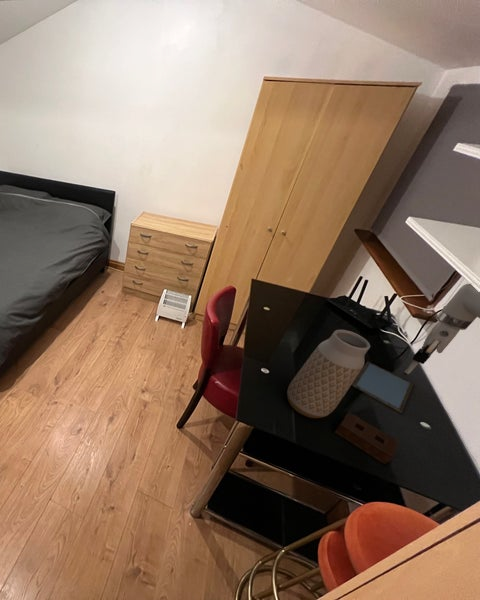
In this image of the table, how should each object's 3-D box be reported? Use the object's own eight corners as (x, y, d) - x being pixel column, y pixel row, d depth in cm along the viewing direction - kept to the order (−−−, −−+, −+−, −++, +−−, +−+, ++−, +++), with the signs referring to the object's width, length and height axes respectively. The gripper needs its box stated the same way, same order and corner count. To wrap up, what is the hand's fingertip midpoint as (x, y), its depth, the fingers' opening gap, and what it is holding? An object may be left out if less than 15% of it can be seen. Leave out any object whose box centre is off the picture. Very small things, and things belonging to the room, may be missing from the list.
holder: (391, 449, 100) (399, 441, 98) (385, 464, 95) (393, 457, 93) (342, 419, 108) (348, 411, 106) (334, 432, 104) (341, 424, 101)
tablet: (366, 362, 134) (367, 361, 134) (412, 385, 125) (413, 383, 124) (351, 386, 122) (352, 384, 121) (400, 413, 112) (402, 411, 112)
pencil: (408, 374, 121) (431, 348, 114) (407, 376, 120) (430, 350, 113) (403, 372, 121) (426, 346, 114) (402, 373, 121) (425, 347, 114)
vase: (336, 420, 108) (392, 352, 91) (303, 426, 105) (355, 357, 88) (304, 388, 119) (349, 322, 102) (273, 393, 116) (314, 326, 99)
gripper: (467, 333, 100) (428, 375, 110) (471, 317, 109) (434, 357, 119) (435, 321, 105) (400, 363, 115) (441, 307, 113) (409, 346, 123)
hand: (418, 360), depth 117 cm, fingers closed on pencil, 1 cm apart
